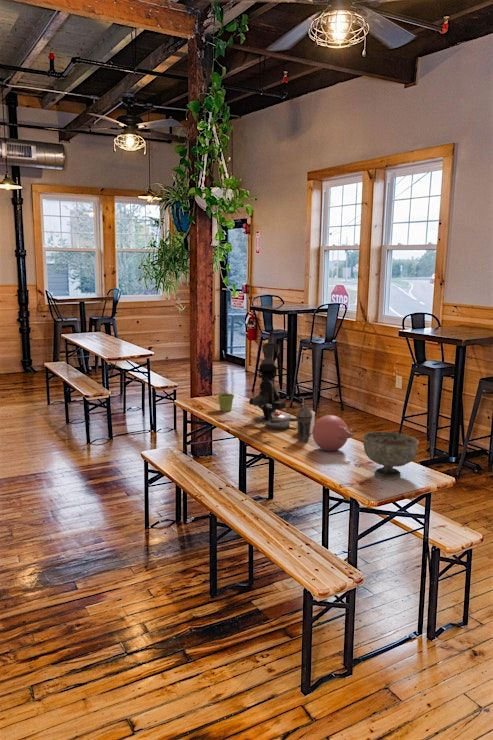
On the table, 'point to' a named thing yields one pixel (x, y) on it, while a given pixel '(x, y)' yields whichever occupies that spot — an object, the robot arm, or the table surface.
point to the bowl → (389, 452)
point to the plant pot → (225, 402)
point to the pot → (278, 424)
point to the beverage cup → (304, 423)
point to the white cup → (312, 422)
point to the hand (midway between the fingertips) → (267, 420)
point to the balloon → (331, 433)
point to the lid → (274, 417)
